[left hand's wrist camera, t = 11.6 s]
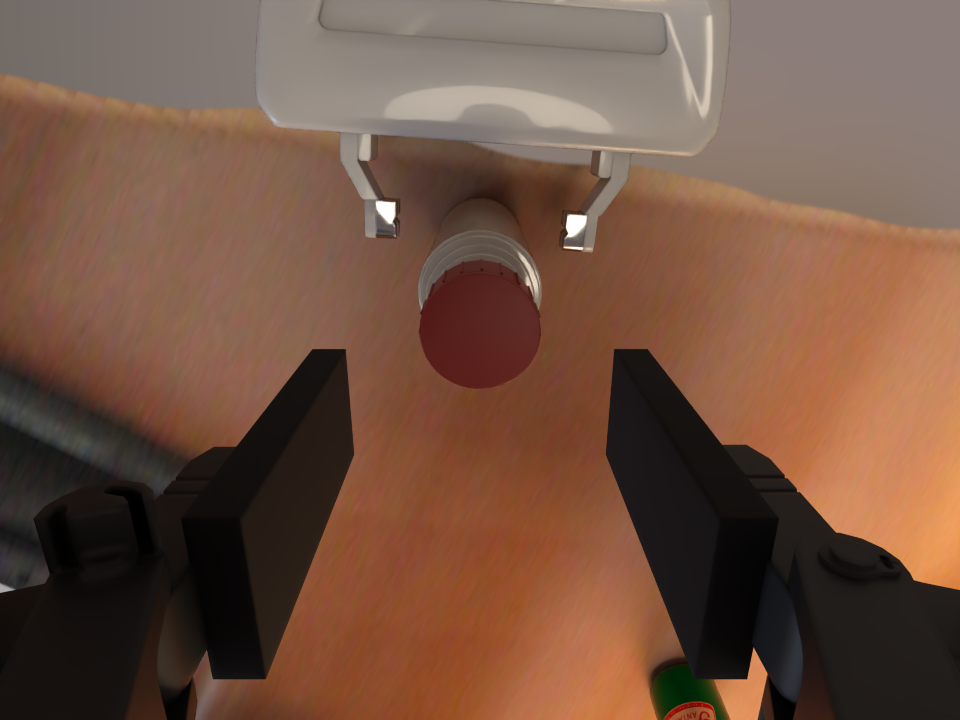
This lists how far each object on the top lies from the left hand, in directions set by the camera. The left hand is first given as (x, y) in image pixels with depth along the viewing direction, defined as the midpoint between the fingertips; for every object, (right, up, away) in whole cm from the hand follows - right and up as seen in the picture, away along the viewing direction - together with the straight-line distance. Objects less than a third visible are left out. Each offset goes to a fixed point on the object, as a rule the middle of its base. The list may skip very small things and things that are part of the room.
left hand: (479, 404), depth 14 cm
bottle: (0, +8, +22) cm, 24 cm away
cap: (0, +2, +5) cm, 6 cm away
